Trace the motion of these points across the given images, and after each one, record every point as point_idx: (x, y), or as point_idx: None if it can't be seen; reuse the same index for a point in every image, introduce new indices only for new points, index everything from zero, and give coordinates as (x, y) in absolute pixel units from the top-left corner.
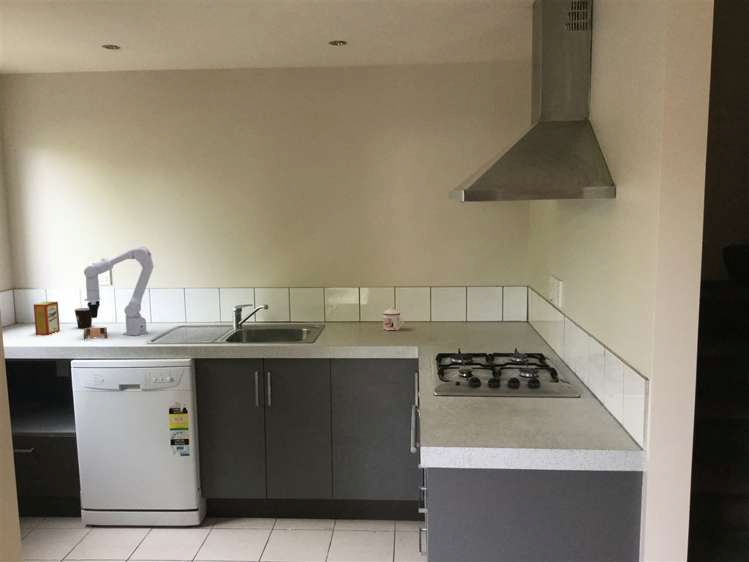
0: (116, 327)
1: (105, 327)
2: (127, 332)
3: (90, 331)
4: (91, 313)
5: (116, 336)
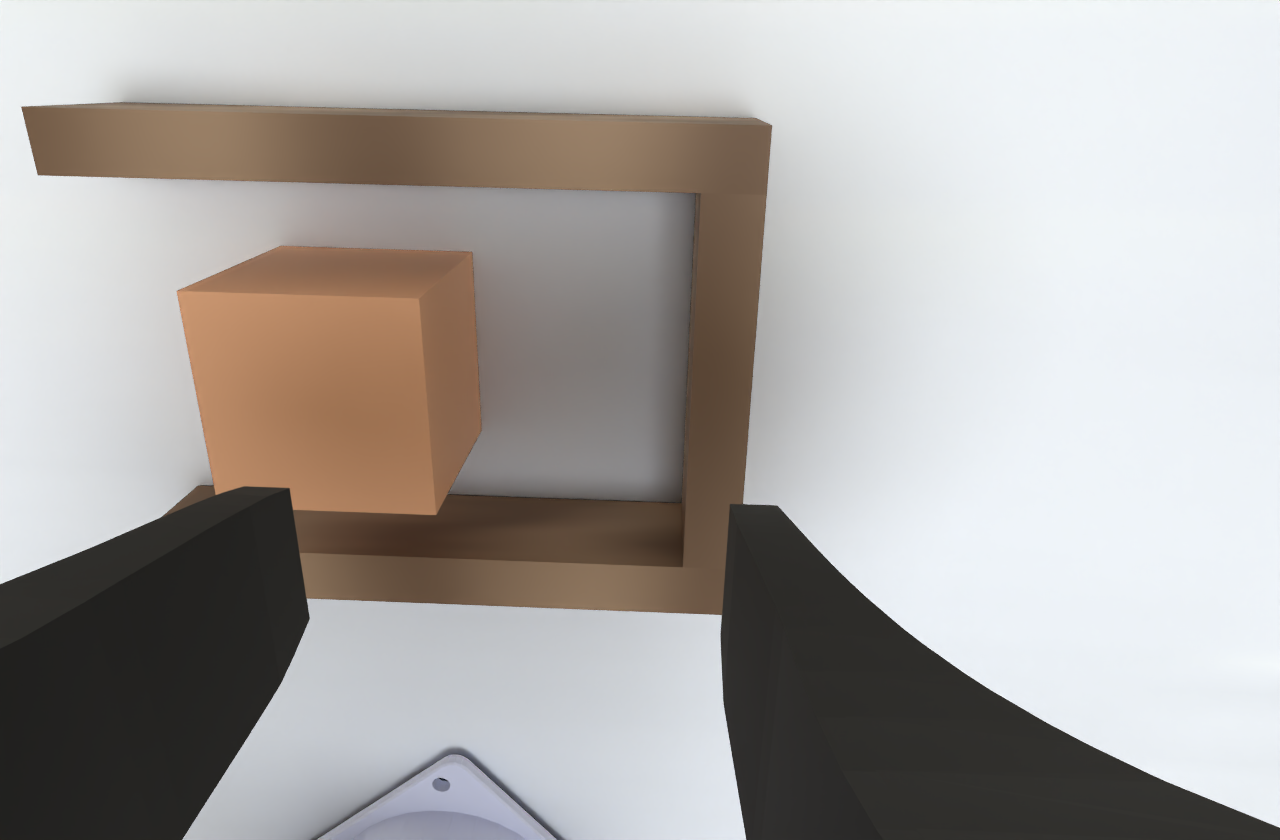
0: (1216, 715)
1: (716, 593)
2: (381, 835)
3: (203, 284)
4: (84, 572)
5: (319, 659)
